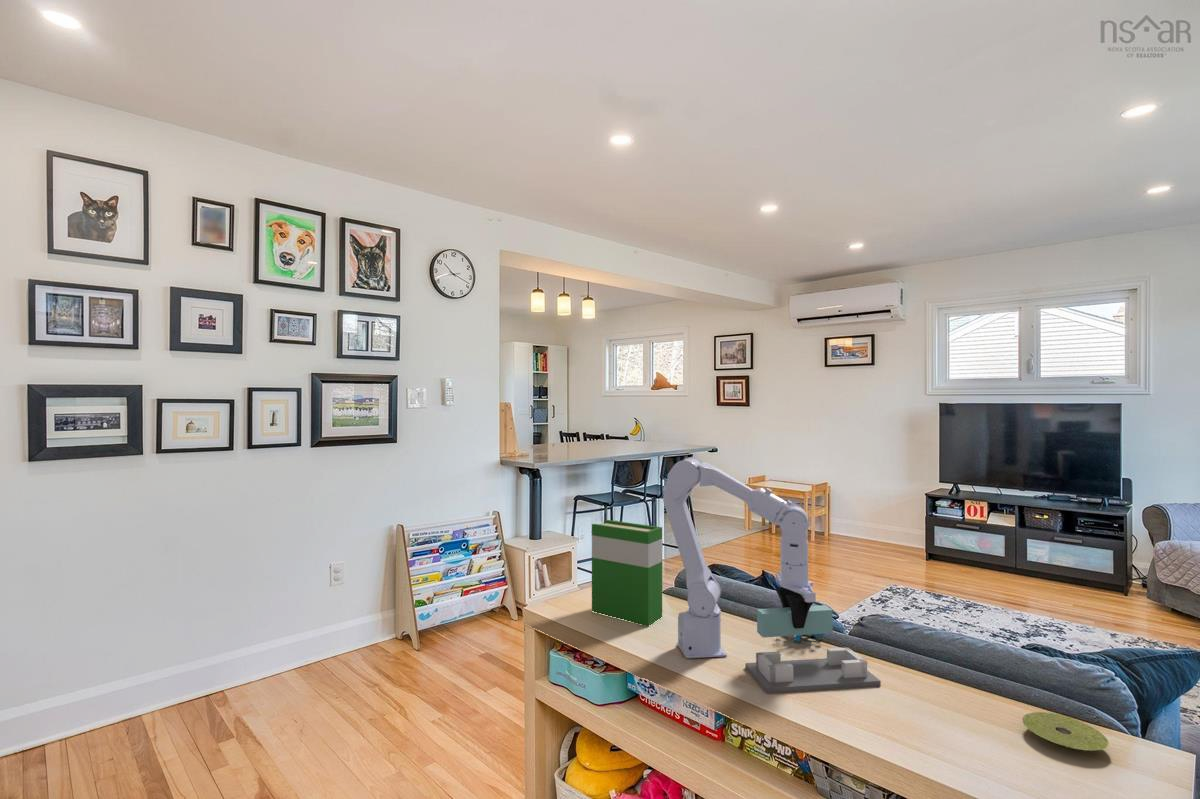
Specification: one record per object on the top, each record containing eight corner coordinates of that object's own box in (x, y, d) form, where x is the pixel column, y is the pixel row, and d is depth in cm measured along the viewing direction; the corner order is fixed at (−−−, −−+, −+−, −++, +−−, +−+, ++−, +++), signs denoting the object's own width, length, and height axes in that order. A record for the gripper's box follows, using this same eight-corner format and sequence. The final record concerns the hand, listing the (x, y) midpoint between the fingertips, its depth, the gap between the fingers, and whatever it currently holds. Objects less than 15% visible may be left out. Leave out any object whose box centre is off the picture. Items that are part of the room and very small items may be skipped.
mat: (1111, 741, 96) (1111, 729, 96) (1105, 771, 88) (1105, 758, 88) (1029, 715, 104) (1028, 704, 104) (1016, 741, 96) (1016, 729, 97)
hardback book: (591, 612, 156) (591, 524, 156) (606, 604, 162) (606, 519, 162) (648, 627, 146) (648, 532, 146) (662, 618, 152) (662, 527, 152)
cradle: (766, 693, 112) (766, 672, 112) (745, 667, 123) (745, 649, 123) (880, 685, 115) (880, 665, 115) (850, 661, 126) (849, 643, 126)
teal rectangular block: (762, 637, 123) (762, 614, 123) (757, 632, 126) (756, 609, 126) (832, 632, 125) (832, 609, 125) (825, 627, 128) (825, 605, 128)
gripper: (829, 570, 119) (829, 636, 119) (795, 552, 133) (796, 611, 133) (797, 572, 118) (797, 638, 118) (766, 554, 132) (767, 613, 132)
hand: (794, 624), depth 125 cm, fingers closed on teal rectangular block, 3 cm apart
